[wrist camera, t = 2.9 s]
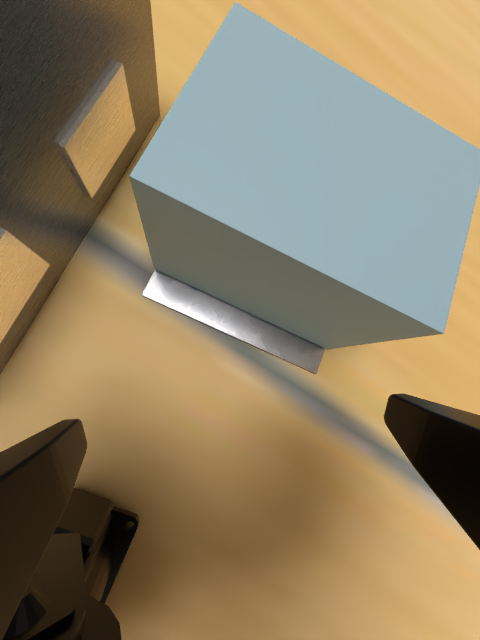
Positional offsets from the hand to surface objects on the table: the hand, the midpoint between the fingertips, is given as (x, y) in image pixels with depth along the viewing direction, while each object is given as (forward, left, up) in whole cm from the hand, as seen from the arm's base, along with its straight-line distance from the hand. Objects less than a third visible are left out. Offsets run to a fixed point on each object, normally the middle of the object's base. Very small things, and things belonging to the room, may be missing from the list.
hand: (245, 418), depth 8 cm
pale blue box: (+11, 0, -11) cm, 16 cm away
